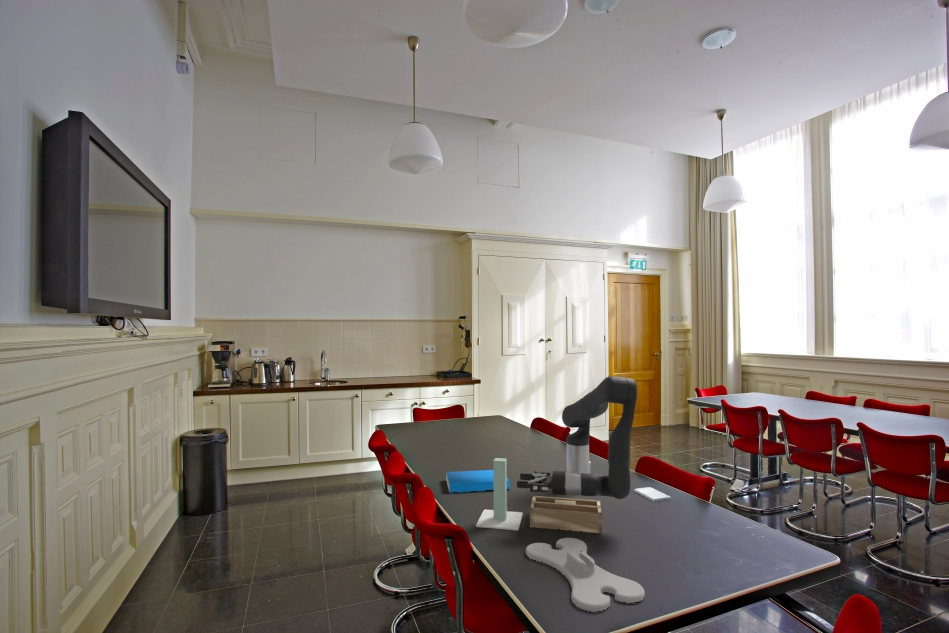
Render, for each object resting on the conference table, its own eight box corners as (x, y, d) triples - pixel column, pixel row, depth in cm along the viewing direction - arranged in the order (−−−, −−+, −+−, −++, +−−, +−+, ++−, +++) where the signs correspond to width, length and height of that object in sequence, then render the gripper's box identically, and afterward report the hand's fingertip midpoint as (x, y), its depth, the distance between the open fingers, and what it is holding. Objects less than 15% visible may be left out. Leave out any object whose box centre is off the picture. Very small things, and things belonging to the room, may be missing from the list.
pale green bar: (495, 516, 162) (495, 457, 162) (506, 517, 161) (506, 458, 161) (493, 519, 158) (493, 460, 159) (505, 521, 157) (504, 461, 158)
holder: (584, 617, 106) (584, 595, 106) (520, 551, 138) (520, 534, 138) (652, 601, 112) (652, 580, 112) (576, 541, 144) (576, 525, 144)
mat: (484, 511, 168) (484, 509, 168) (522, 514, 165) (522, 512, 165) (476, 526, 154) (476, 525, 154) (518, 530, 151) (518, 528, 151)
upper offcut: (555, 508, 163) (555, 500, 163) (575, 509, 161) (575, 501, 162) (555, 512, 159) (555, 503, 159) (576, 513, 158) (576, 504, 158)
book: (445, 472, 203) (501, 468, 207) (445, 482, 203) (501, 478, 207) (449, 484, 186) (510, 480, 190) (449, 495, 186) (510, 491, 190)
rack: (533, 512, 166) (533, 495, 166) (599, 518, 161) (599, 500, 161) (529, 527, 154) (529, 508, 154) (601, 533, 149) (601, 514, 149)
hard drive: (672, 496, 179) (650, 486, 191) (654, 499, 176) (633, 488, 188) (672, 501, 179) (651, 490, 191) (654, 503, 176) (633, 492, 188)
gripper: (567, 466, 162) (520, 463, 166) (566, 478, 148) (515, 475, 152) (567, 487, 162) (521, 484, 165) (566, 502, 148) (515, 498, 151)
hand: (518, 480), depth 159 cm, fingers open, 8 cm apart
